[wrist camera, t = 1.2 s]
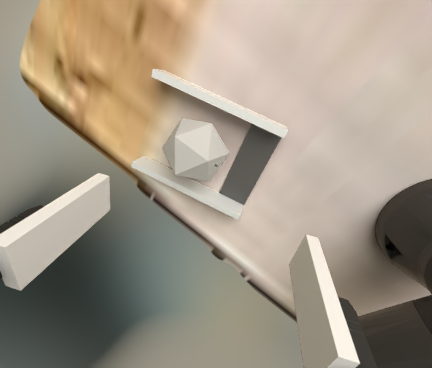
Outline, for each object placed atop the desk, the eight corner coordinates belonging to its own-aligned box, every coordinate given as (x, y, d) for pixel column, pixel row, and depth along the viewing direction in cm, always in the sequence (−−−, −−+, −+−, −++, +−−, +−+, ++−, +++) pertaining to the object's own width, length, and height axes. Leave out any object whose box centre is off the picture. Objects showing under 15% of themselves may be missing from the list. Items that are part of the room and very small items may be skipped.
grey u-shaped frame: (286, 126, 30) (288, 131, 27) (241, 209, 37) (238, 220, 34) (165, 70, 31) (153, 68, 28) (143, 160, 38) (131, 167, 35)
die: (192, 175, 38) (213, 201, 30) (148, 148, 33) (159, 171, 25) (220, 136, 37) (250, 152, 29) (179, 102, 32) (201, 111, 24)
